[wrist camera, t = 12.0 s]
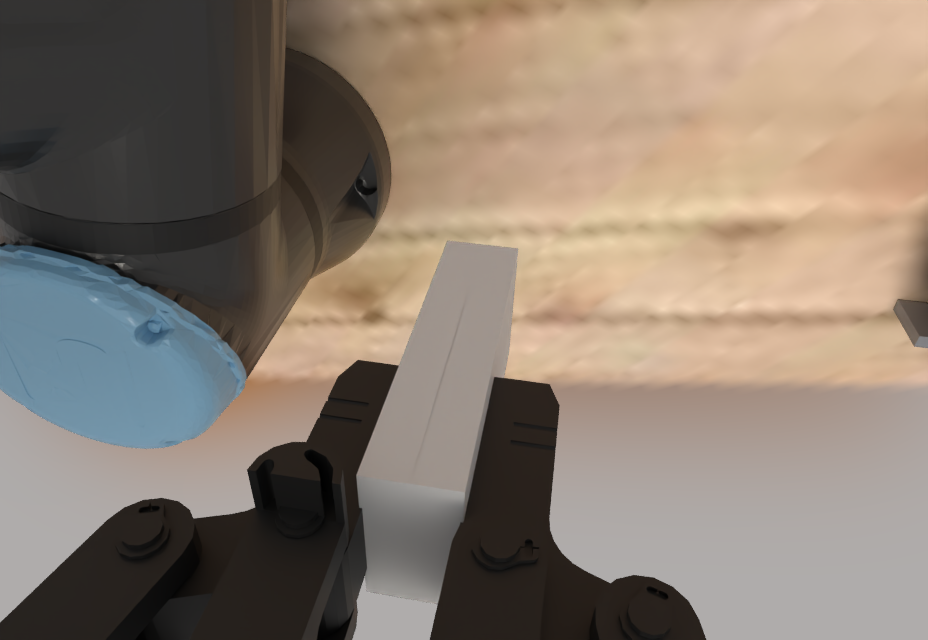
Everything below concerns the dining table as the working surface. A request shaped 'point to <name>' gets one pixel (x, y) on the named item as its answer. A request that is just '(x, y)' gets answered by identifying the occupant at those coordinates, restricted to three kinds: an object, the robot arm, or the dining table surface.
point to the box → (914, 321)
